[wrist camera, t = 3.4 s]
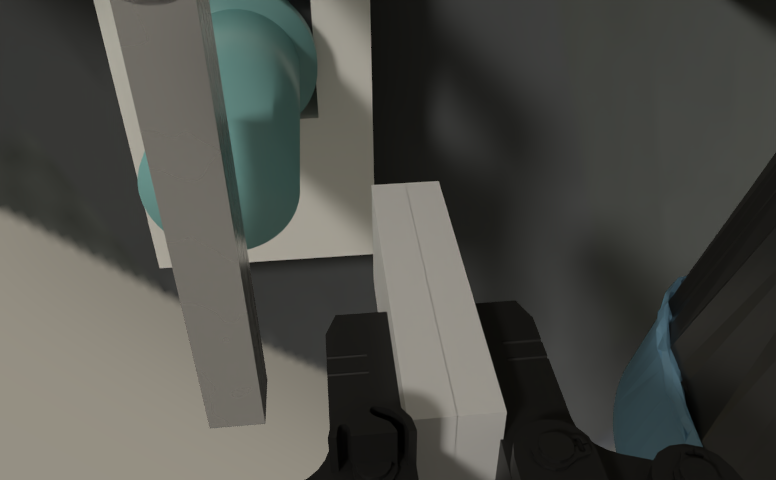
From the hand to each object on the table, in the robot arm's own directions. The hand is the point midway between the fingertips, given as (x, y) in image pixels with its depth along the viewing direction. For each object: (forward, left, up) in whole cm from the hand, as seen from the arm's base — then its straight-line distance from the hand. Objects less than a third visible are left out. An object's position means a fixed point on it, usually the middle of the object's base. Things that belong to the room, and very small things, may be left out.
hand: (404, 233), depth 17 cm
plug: (+4, 0, -13) cm, 14 cm away
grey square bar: (+4, -2, -1) cm, 5 cm away
